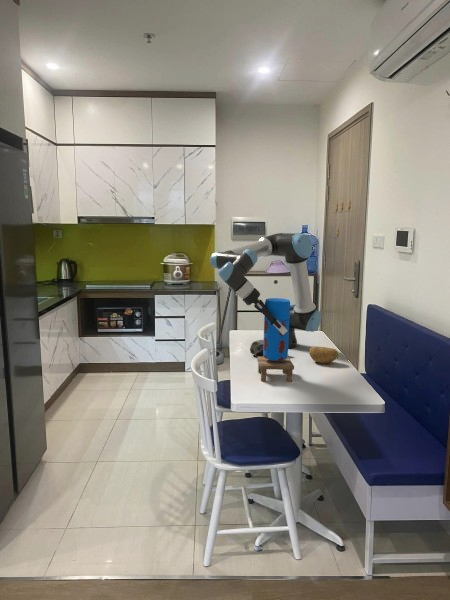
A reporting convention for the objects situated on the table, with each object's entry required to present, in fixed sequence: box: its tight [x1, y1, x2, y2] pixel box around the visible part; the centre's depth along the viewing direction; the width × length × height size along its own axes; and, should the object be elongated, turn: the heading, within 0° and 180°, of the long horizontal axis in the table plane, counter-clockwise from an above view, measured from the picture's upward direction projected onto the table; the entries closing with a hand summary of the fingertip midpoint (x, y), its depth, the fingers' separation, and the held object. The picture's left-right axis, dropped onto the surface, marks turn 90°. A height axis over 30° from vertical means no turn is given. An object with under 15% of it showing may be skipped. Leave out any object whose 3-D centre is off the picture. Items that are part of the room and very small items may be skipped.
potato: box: [308, 345, 339, 365], centre depth 211 cm, size 10×14×8 cm
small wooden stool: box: [256, 356, 295, 383], centre depth 189 cm, size 14×14×7 cm
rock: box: [249, 339, 264, 358], centre depth 220 cm, size 18×11×8 cm, turn 121°
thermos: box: [263, 297, 291, 360], centre depth 187 cm, size 11×11×25 cm
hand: (283, 329), depth 187 cm, fingers closed on thermos, 11 cm apart
